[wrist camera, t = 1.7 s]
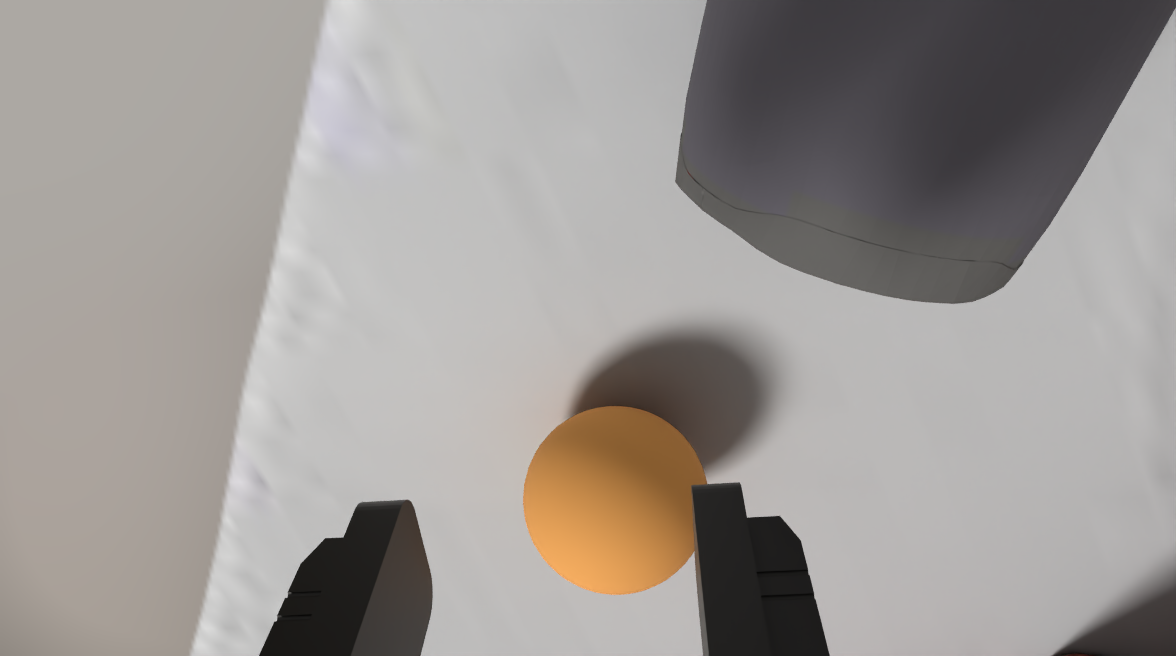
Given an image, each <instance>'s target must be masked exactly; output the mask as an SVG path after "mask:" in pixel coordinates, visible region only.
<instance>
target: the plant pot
mask: <svg viewBox="0 0 1176 656" xmlns="http://www.w3.org/2000/svg"><path fill="white" fill-rule="evenodd" d="M1064 656H1094V655H1086V654H1079V653H1077V654H1069V655H1064Z"/></svg>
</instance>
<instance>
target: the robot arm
mask: <svg viewBox="0 0 1176 656" xmlns="http://www.w3.org/2000/svg"><path fill="white" fill-rule="evenodd" d="M691 495H692V513H693V531H694V549H695V566H696V581H697V594H698V605H699V616H700V626H701V637H702V647H703V656H830V655H829V651H828V647H827V643H826V639H825V635H824V631H823V627H822V623H821V619H820V615H819V611H818V607H817V603H816V599H814V591H813V587H812V583H811V579H810V576H809V575H808V568H807V564H806V560H805V556H804V552H803V548H802V544H801V540H800V539H799V538H798V537H797V536H796V534H795V533H794V532H793V531H792V530H791V529H790V527H789V526H788V525H787V524H786V523H785V522H784V520H783V519H782V518H781V517H780V516H771V517H751V518H747V516H746V510H745V505H744V499H743V493H742V488H741V484H740V482H739V483H721V484H702V485H691ZM431 609H432V578H431V573H430V568H429V564H428V561H427V557H426V553H425V549H424V545H423V541H422V537H421V533H420V529H419V525H418V521H417V517H416V513H415V509H414V507H413V504H412V503H411V501H409V500H395V501H376V502H361V503H359V504H358V505H357V507H356V509H355V511H354V513H353V516H352V518H351V520H350V523H349V525H348V528H347V530H346V533H345V535H344V538H325V539H324V540H323V541H322V542H321V543H320V544H319V546H318V547H317V548H316V549H315V550H314V551H313V552H312V553H311V554H310V555H309V556H308V557H307V558H306V559H305V560H304V561H303V562H302V563H301V564H300V567H299V569H298V571H297V573H296V575H295V578H294V580H293V582H292V584H291V586H290V589H289V591H288V598H285V600H284V602H283V604H282V606H281V608H280V611H279V613H278V615H277V617H278V619H277V622H274V624H273V626H272V628H271V630H270V633H269V635H268V637H267V639H266V642H265V644H264V646H263V648H262V650H261V653H260V655H259V656H420V655H421V651H422V647H423V643H424V639H425V635H426V632H427V628H428V624H429V620H430V615H431Z"/></svg>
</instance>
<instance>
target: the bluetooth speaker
mask: <svg viewBox="0 0 1176 656" xmlns="http://www.w3.org/2000/svg"><path fill="white" fill-rule="evenodd" d="M1175 8H1176V0H707V4H706V8H705V12H704V17H703V21H702V25H701V30H700V35H699V40H698V44H697V49H696V54H695V59H694V64H693V69H692V73H691V78H690V83H689V88H688V93H687V97H686V105H685V113H684V121H683V129H682V133H681V138H680V147H679V155H678V163H677V172H676V180H675V182H676V183H677V185H678V186H679V187H680V189H681V190H682V191H683V192H684V193H685V194H686V195H687V196H688V197H689V198H690V199H691V200H692V201H693V202H694V203H695V204H697V205H698V206H699V207H700V208H701V209H702V210H703V211H704V212H706V213H707V214H709V215H710V216H711V217H713V218H714V219H716V220H717V221H718V222H720V223H721V224H723V225H724V226H726V227H727V228H729V229H731V230H732V231H733V232H735V233H736V234H737V235H739V236H740V237H741V238H743V239H744V240H745V241H747V242H748V243H749V244H751V245H752V246H753V247H755V248H756V249H758V250H759V251H761V252H763V253H764V254H766V255H768V256H769V257H771V258H773V259H774V260H776V261H778V262H780V263H782V264H784V265H787V266H789V267H791V268H794V269H796V270H799V271H801V272H804V273H806V274H810V275H813V276H816V277H818V278H822V279H825V280H828V281H831V282H834V283H837V284H840V285H844V286H848V287H851V288H855V289H859V290H862V291H866V292H871V293H875V294H879V295H883V296H888V297H894V298H900V299H905V300H912V301H921V302H933V303H950V304H955V303H966V302H973V301H976V300H979V299H981V298H984V297H986V296H988V295H990V294H992V293H994V292H996V291H997V290H999V289H1001V288H1002V287H1004V286H1005V285H1006V284H1007V282H1008V281H1009V280H1010V279H1011V278H1012V276H1013V275H1014V274H1015V273H1016V271H1017V270H1018V269H1019V267H1020V266H1021V265H1022V264H1023V261H1024V259H1025V258H1026V257H1027V255H1028V254H1029V252H1030V251H1031V250H1032V248H1033V247H1034V246H1035V244H1036V243H1037V241H1038V240H1039V239H1040V237H1041V236H1042V235H1043V233H1044V232H1045V231H1046V229H1047V228H1048V226H1049V225H1050V224H1051V222H1052V220H1053V219H1054V217H1055V215H1056V214H1057V212H1058V211H1059V209H1060V207H1061V206H1062V204H1063V203H1064V201H1065V199H1066V198H1067V196H1068V195H1069V193H1070V191H1071V190H1072V188H1073V186H1074V185H1075V183H1076V182H1077V180H1078V178H1079V177H1080V175H1081V174H1082V172H1083V170H1084V168H1085V167H1086V165H1087V163H1088V161H1089V160H1090V158H1091V156H1092V154H1093V153H1094V151H1095V149H1096V147H1097V145H1098V144H1099V142H1100V140H1101V138H1102V137H1103V135H1104V133H1105V131H1106V130H1107V128H1108V126H1109V124H1110V123H1111V121H1112V119H1113V117H1114V115H1115V114H1116V112H1117V110H1118V108H1119V107H1120V105H1121V103H1122V101H1123V100H1124V98H1125V96H1126V94H1127V92H1128V91H1129V89H1130V87H1131V85H1132V84H1133V82H1134V80H1135V78H1136V77H1137V75H1138V73H1139V71H1140V70H1141V68H1142V66H1143V64H1144V62H1145V61H1146V59H1147V57H1148V55H1149V54H1150V52H1151V50H1152V48H1153V47H1154V45H1155V43H1156V41H1157V40H1158V38H1159V36H1160V34H1161V32H1162V31H1163V29H1164V27H1165V25H1166V24H1167V22H1168V20H1169V18H1170V17H1171V15H1172V13H1173V11H1174V9H1175Z"/></svg>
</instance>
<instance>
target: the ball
mask: <svg viewBox="0 0 1176 656" xmlns="http://www.w3.org/2000/svg"><path fill="white" fill-rule="evenodd" d="M702 484H707V481H706V477H705V474H704V470H703V467H702V465H701V463H700V461H699V458H698V456H697V454H696V452H695V451H694V449H693V448H692V446H691V445H690V443H689V442H688V441H687V440H686V438H685V437H684V436H683V435H682V434H681V433H680V432H679V431H678V430H677V429H676V428H674V427H673V426H672V425H671V424H669V423H668V422H666V421H665V420H663V419H662V418H660V417H658V416H656V415H654V414H652V413H650V412H647V411H644V410H641V409H637V408H632V407H624V406H606V407H598V408H594V409H590V410H587V411H584V412H581V413H579V414H577V415H575V416H573V417H571V418H569V419H568V420H566V421H565V422H563V423H562V424H560V425H559V426H558V427H556V428H555V429H554V430H553V431H552V432H551V433H550V434H549V435H548V436H547V438H546V439H545V440H544V441H543V442H542V444H541V445H540V446H539V448H538V450H537V451H536V453H535V455H534V457H533V459H532V461H531V463H530V466H529V468H528V472H527V476H526V480H525V484H524V496H523V505H524V514H525V520H526V524H527V528H528V531H529V533H530V536H531V538H532V541H533V543H534V545H535V546H536V548H537V550H538V551H539V553H540V554H541V556H542V557H543V559H544V560H545V561H546V562H547V563H548V565H550V566H551V567H552V568H553V569H554V570H555V571H556V572H557V573H558V574H559V575H560V576H562V577H563V578H565V579H566V580H568V581H570V582H571V583H573V584H575V585H577V586H579V587H581V588H584V589H586V590H590V591H593V592H597V593H602V594H611V595H621V594H631V593H636V592H640V591H643V590H646V589H649V588H651V587H654V586H656V585H658V584H660V583H662V582H663V581H665V580H667V579H668V578H669V577H671V576H672V575H673V574H675V573H676V572H677V571H678V570H679V569H680V568H681V567H682V566H683V565H684V564H685V563H686V562H687V560H688V559H689V558H690V557H691V555H692V554H693V552H694V551H695V549H694V531H693V513H692V495H691V485H702Z"/></svg>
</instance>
